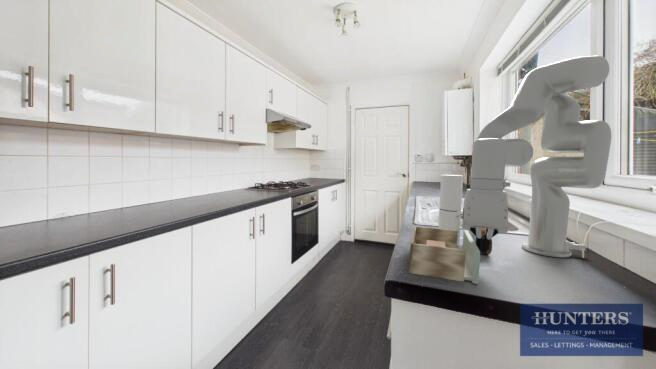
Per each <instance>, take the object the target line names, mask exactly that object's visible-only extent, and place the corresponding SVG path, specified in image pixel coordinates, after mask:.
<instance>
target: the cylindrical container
mask: <svg viewBox="0 0 656 369" xmlns="http://www.w3.org/2000/svg"><path fill="white" fill-rule="evenodd" d="M463 184H464V175H462V174H440V184H439V185H440V190H439V207H438V227H437V229H446V230H456V231H458V234H457V247H459V246H460V240H461V239H460V236H461V219H462V204H463V202H462V201H463V200H462V199H463V188H464V187H463Z"/></svg>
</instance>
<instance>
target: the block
mask: <svg viewBox="0 0 656 369" xmlns="http://www.w3.org/2000/svg"><path fill="white" fill-rule="evenodd" d="M426 245H430V246H438V247H446V246H445V242H441V241H433V240H427V243H426Z"/></svg>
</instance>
